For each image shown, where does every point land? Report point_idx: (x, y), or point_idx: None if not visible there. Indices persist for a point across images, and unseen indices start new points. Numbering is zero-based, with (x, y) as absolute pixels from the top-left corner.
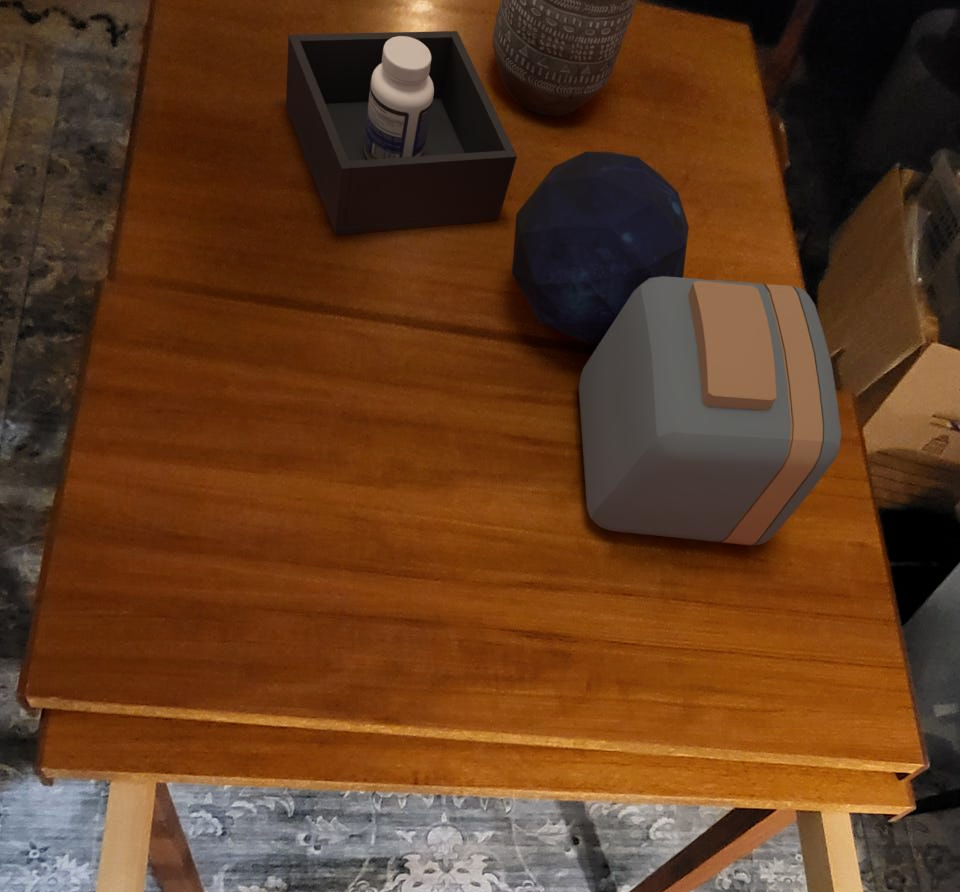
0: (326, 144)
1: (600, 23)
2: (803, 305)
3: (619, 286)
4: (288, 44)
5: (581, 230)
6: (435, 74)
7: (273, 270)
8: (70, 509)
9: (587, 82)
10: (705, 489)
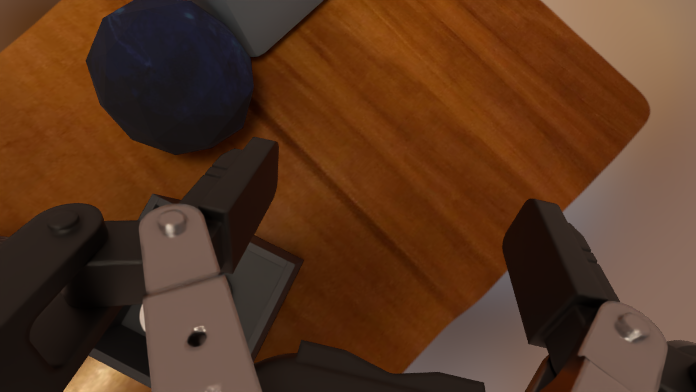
0: (278, 301)
1: None
2: None
3: (216, 20)
4: None
5: (212, 51)
6: (113, 334)
7: (364, 259)
8: (585, 185)
9: (3, 238)
10: None
